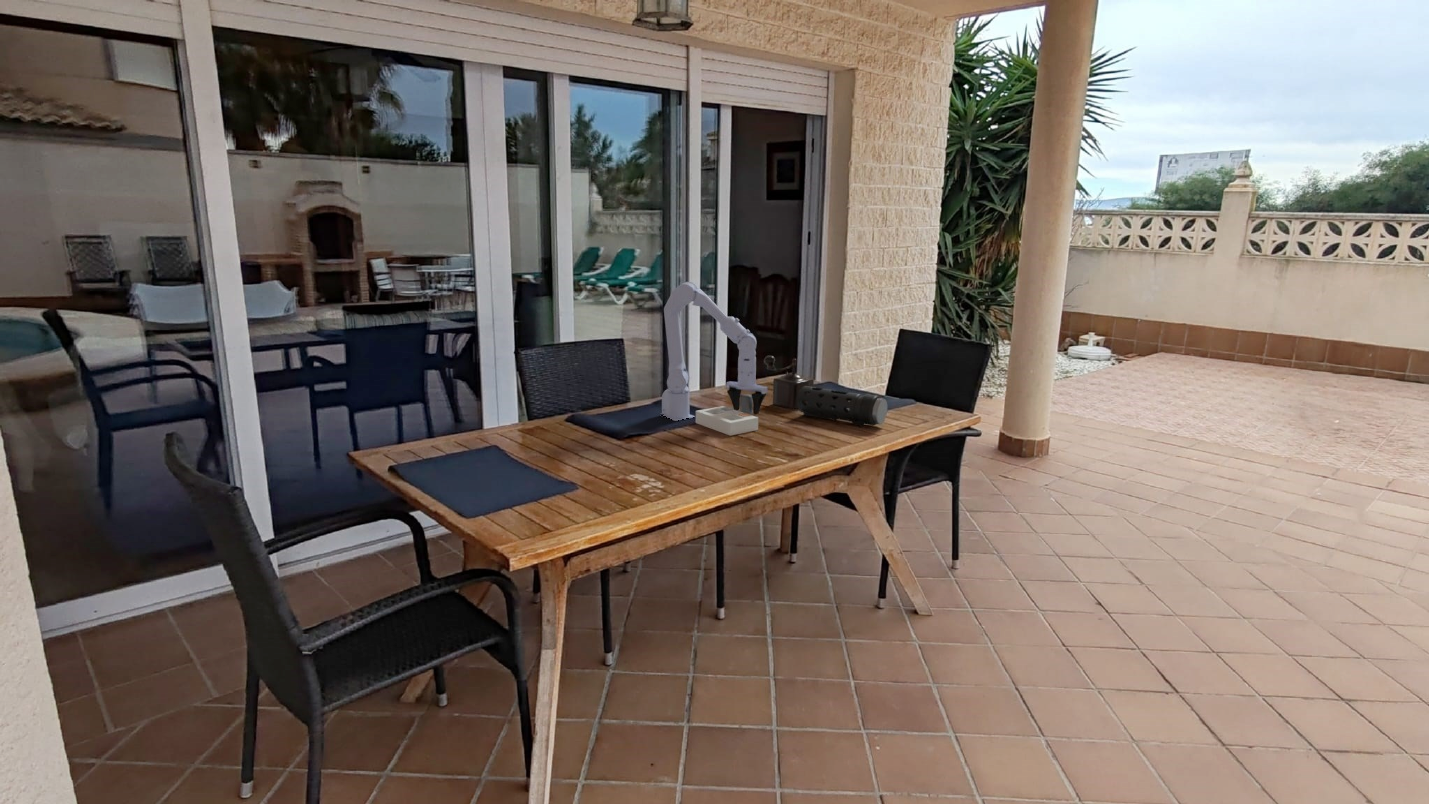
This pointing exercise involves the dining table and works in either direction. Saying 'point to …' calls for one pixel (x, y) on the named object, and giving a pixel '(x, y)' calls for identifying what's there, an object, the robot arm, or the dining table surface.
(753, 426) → the socket block
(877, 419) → the muzzle brake
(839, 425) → the dining table surface
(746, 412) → the peg
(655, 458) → the dining table surface
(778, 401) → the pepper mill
